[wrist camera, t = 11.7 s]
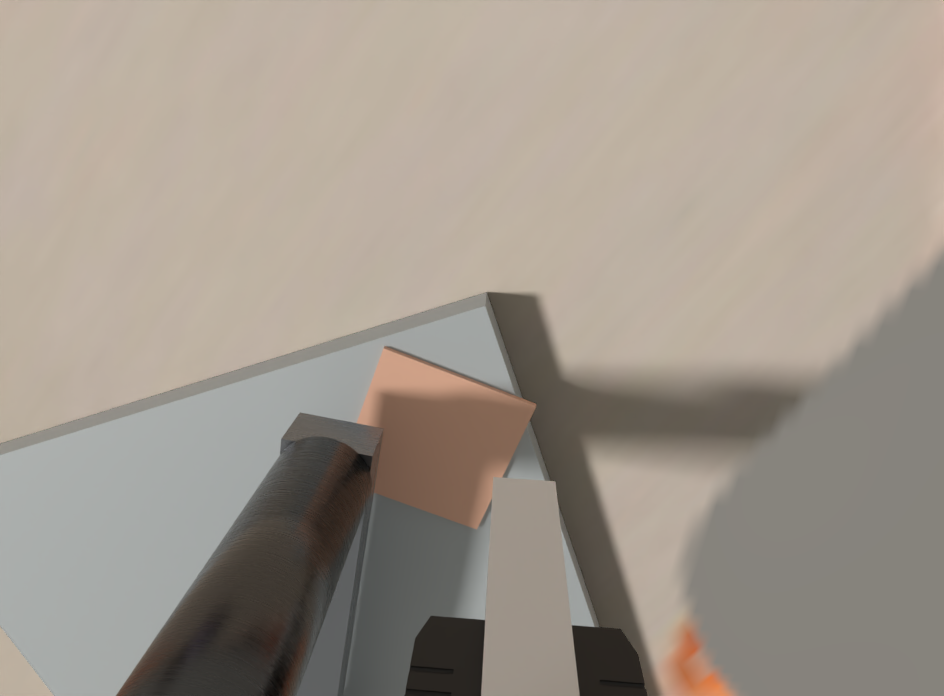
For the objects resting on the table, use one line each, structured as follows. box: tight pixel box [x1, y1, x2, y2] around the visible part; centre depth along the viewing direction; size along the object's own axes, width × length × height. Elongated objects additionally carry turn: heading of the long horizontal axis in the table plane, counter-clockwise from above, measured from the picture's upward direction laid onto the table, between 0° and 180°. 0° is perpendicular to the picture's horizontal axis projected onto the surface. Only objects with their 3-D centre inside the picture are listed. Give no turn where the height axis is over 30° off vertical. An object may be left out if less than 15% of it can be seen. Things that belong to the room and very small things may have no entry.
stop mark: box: [357, 346, 536, 529], centre depth 19 cm, size 5×5×1 cm
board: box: [0, 292, 600, 696], centre depth 24 cm, size 24×22×2 cm
